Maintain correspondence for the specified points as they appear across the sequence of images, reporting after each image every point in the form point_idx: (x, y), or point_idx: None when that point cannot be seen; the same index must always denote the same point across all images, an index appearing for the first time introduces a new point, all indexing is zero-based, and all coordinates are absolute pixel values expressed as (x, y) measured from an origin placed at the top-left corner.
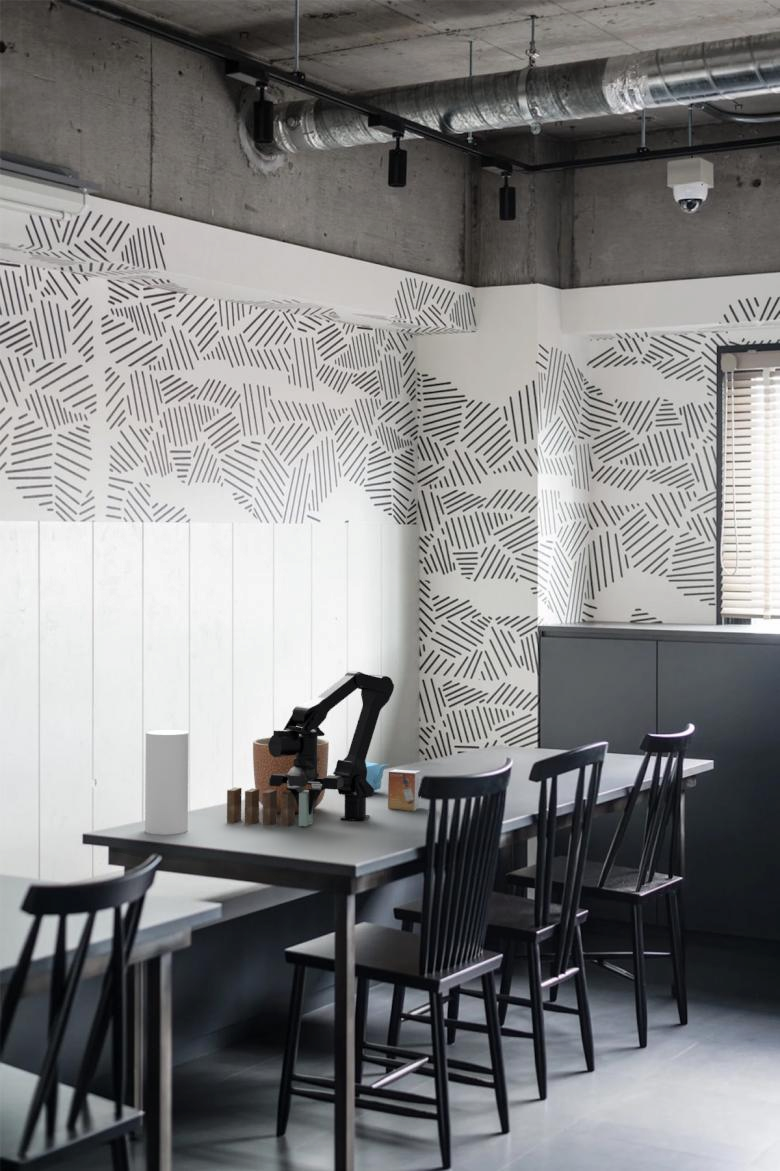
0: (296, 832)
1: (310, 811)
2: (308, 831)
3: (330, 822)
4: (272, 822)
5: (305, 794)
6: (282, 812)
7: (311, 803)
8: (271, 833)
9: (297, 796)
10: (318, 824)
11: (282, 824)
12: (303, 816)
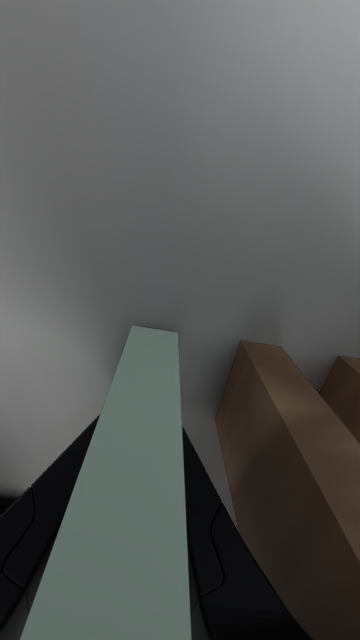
0: (160, 147)
1: (95, 422)
2: (86, 205)
3: (57, 457)
4: (327, 393)
5: (50, 607)
6: (310, 398)
7: (51, 478)
8: (352, 60)
9: (219, 575)
10: (95, 413)
11: (274, 350)
12: (142, 358)
